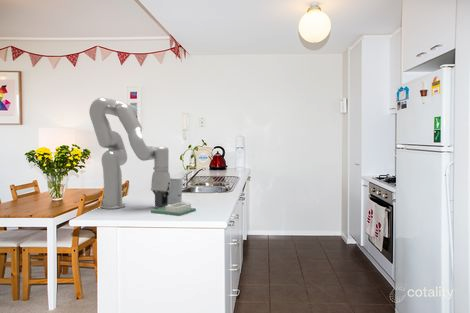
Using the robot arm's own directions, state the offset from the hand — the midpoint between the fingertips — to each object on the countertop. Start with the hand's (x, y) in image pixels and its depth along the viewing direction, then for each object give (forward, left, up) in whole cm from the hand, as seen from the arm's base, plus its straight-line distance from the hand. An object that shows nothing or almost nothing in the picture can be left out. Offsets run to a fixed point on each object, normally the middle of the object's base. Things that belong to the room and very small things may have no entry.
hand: (161, 202), depth 205 cm
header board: (+13, -6, -3) cm, 14 cm away
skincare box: (-2, +15, -3) cm, 16 cm away
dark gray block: (0, 0, -2) cm, 2 cm away
